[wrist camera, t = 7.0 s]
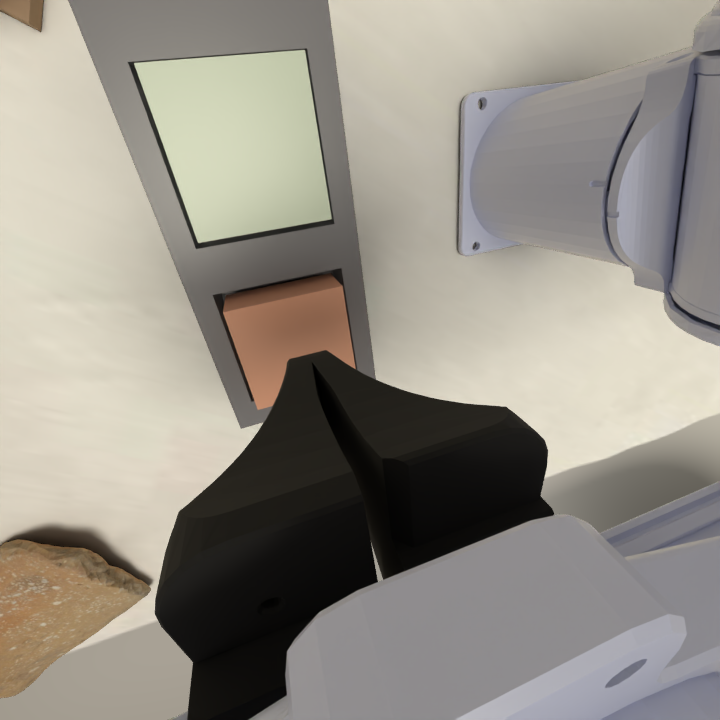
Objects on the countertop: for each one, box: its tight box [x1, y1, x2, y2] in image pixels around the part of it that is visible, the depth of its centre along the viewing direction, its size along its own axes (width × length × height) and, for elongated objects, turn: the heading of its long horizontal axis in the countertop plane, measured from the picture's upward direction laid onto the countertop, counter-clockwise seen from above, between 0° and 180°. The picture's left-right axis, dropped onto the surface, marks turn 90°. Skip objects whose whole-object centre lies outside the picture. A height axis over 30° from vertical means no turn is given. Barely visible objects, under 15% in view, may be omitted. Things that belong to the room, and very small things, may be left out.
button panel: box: [68, 0, 376, 428], centre depth 16 cm, size 8×17×3 cm, turn 8°
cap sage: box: [134, 50, 332, 243], centre depth 13 cm, size 5×5×2 cm
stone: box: [0, 539, 151, 698], centre depth 22 cm, size 11×16×3 cm
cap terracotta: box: [223, 273, 356, 410], centre depth 17 cm, size 5×5×2 cm
